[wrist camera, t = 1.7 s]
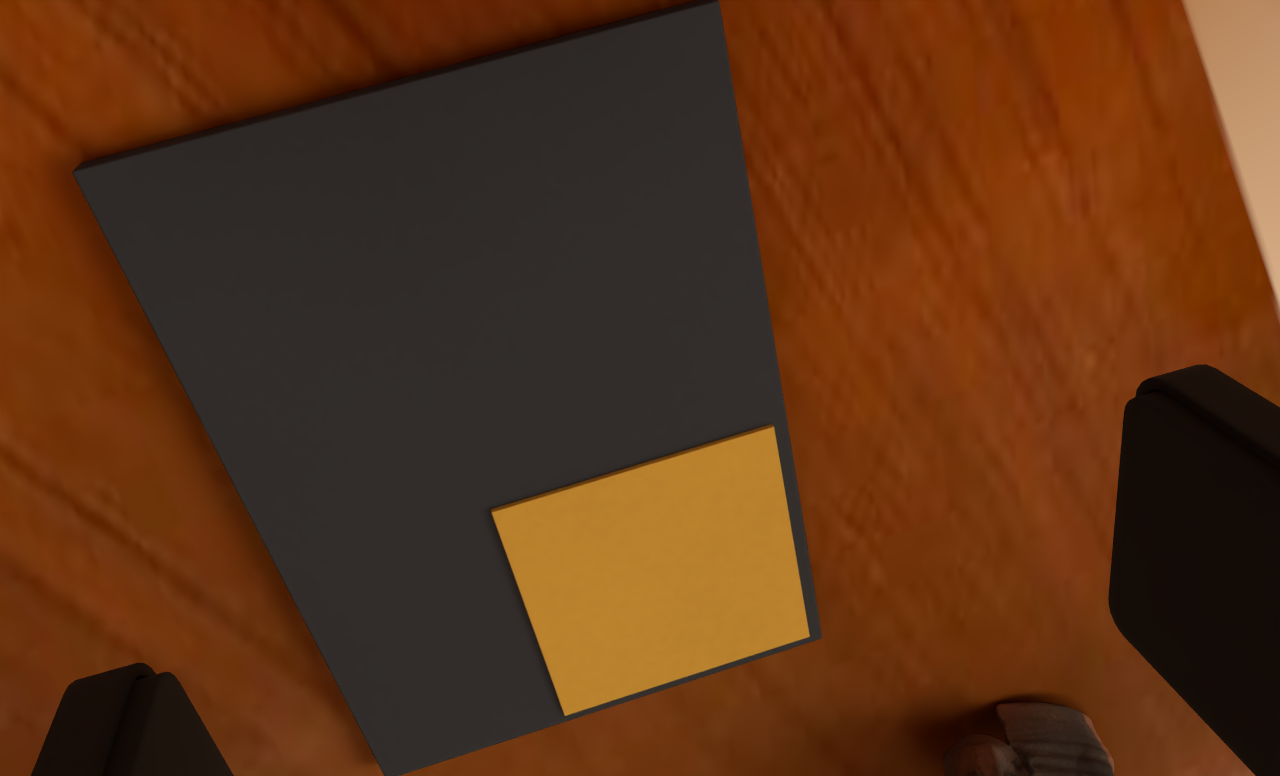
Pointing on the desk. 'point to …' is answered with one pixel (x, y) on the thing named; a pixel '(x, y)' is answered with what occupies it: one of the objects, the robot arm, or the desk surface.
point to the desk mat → (490, 375)
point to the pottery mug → (1033, 745)
